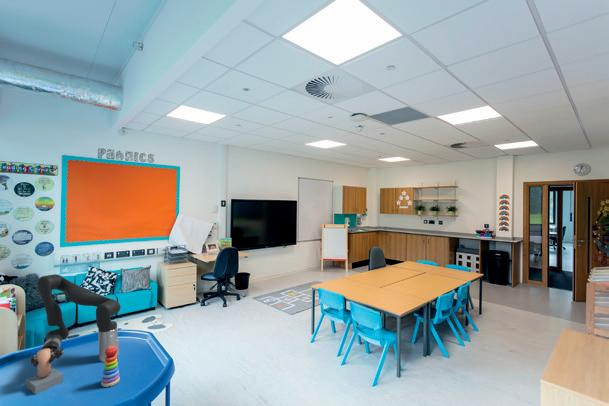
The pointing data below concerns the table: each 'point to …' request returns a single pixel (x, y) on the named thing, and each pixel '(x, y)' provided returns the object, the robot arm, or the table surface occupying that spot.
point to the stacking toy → (110, 368)
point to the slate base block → (44, 381)
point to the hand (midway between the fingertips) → (42, 363)
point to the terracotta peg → (43, 362)
